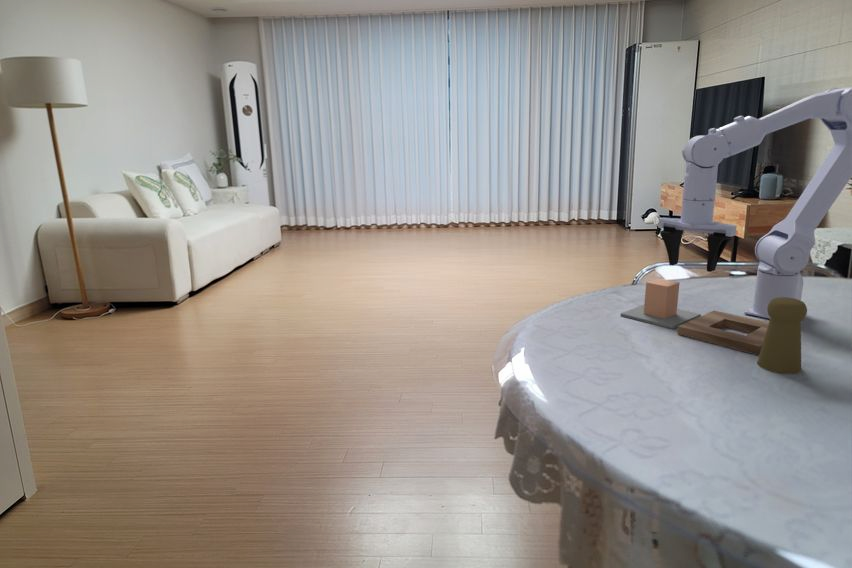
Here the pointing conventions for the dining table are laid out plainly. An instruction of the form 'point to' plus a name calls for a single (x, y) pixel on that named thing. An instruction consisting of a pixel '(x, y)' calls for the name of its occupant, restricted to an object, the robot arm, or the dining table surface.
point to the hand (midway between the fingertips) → (691, 267)
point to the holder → (710, 332)
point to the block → (661, 298)
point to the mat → (669, 322)
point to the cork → (783, 336)
